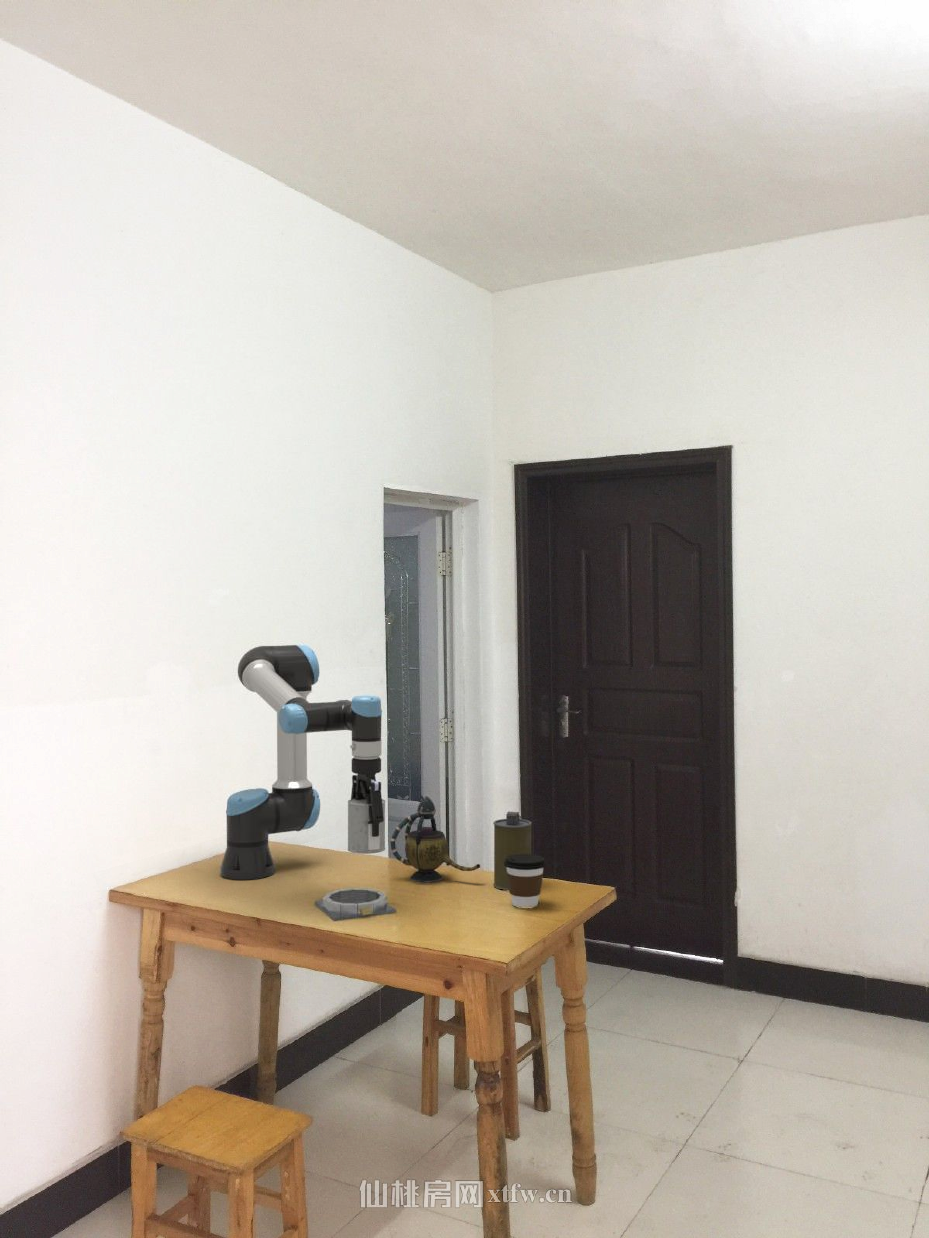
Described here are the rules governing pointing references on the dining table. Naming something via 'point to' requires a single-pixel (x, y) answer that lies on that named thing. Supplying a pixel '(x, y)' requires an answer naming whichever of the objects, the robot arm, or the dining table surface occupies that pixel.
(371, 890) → the socket
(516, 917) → the dining table surface
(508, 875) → the coffee cup
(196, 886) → the dining table surface
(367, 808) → the grey speckled cylinder
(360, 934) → the dining table surface
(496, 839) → the canister
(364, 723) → the robot arm
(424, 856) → the teapot
